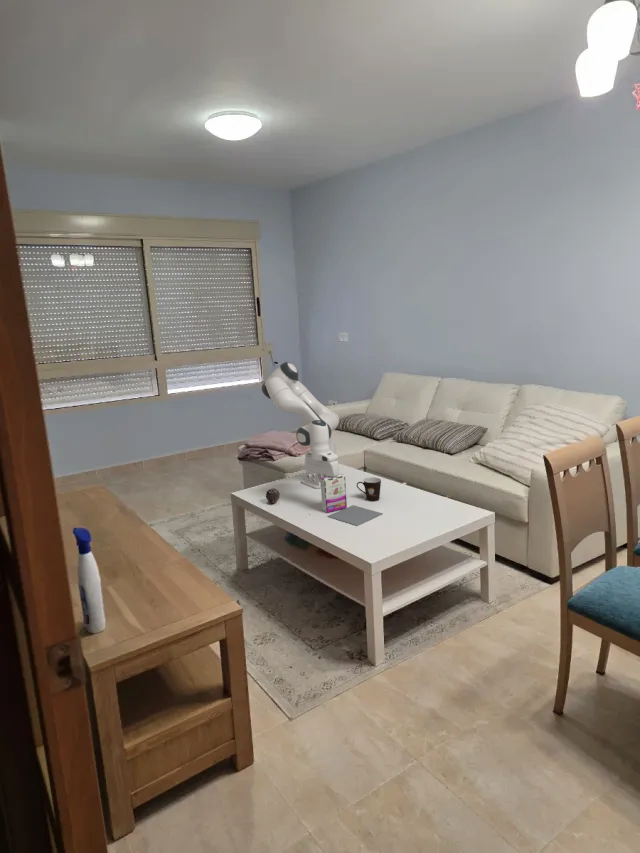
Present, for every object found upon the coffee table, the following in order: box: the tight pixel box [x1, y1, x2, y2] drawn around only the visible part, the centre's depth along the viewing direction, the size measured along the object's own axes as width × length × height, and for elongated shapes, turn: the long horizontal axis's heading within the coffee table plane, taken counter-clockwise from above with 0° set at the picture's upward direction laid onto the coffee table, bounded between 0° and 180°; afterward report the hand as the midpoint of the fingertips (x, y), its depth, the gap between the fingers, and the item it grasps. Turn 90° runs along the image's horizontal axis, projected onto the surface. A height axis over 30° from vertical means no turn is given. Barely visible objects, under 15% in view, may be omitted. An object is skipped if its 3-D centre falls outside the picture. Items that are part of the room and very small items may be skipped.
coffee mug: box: [356, 476, 382, 502], centre depth 281 cm, size 12×9×10 cm
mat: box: [327, 504, 384, 527], centre depth 261 cm, size 18×18×1 cm
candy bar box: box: [320, 473, 348, 514], centre depth 268 cm, size 11×5×16 cm, turn 118°
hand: (321, 482), depth 272 cm, fingers closed
